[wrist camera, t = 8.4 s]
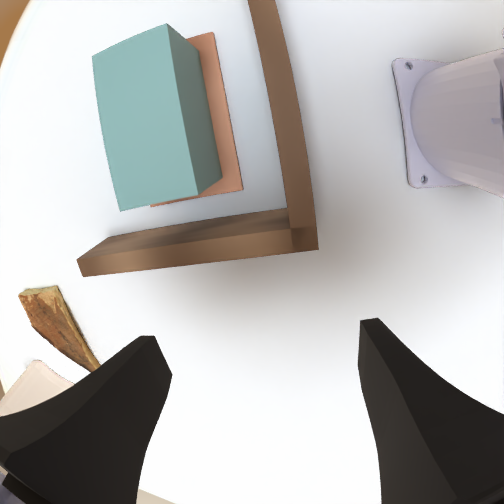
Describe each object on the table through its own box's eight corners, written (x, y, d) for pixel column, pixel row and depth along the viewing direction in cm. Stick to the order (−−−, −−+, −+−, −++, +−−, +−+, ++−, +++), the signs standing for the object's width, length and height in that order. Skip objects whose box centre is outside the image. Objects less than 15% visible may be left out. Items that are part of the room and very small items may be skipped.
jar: (95, 396, 28) (42, 488, 14) (95, 425, 32) (56, 500, 18) (26, 349, 27) (-35, 422, 13) (35, 386, 31) (-10, 450, 17)
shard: (108, 371, 26) (101, 382, 24) (64, 365, 27) (57, 374, 26) (62, 282, 22) (51, 291, 20) (22, 287, 23) (12, 295, 22)
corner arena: (265, -15, 11) (260, -48, 8) (311, 224, 17) (318, 249, 13) (74, 53, 14) (37, 45, 10) (113, 252, 19) (83, 277, 16)
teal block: (223, 177, 16) (198, 195, 12) (161, 190, 17) (120, 211, 12) (198, 50, 13) (166, 23, 9) (138, 71, 14) (92, 56, 9)
